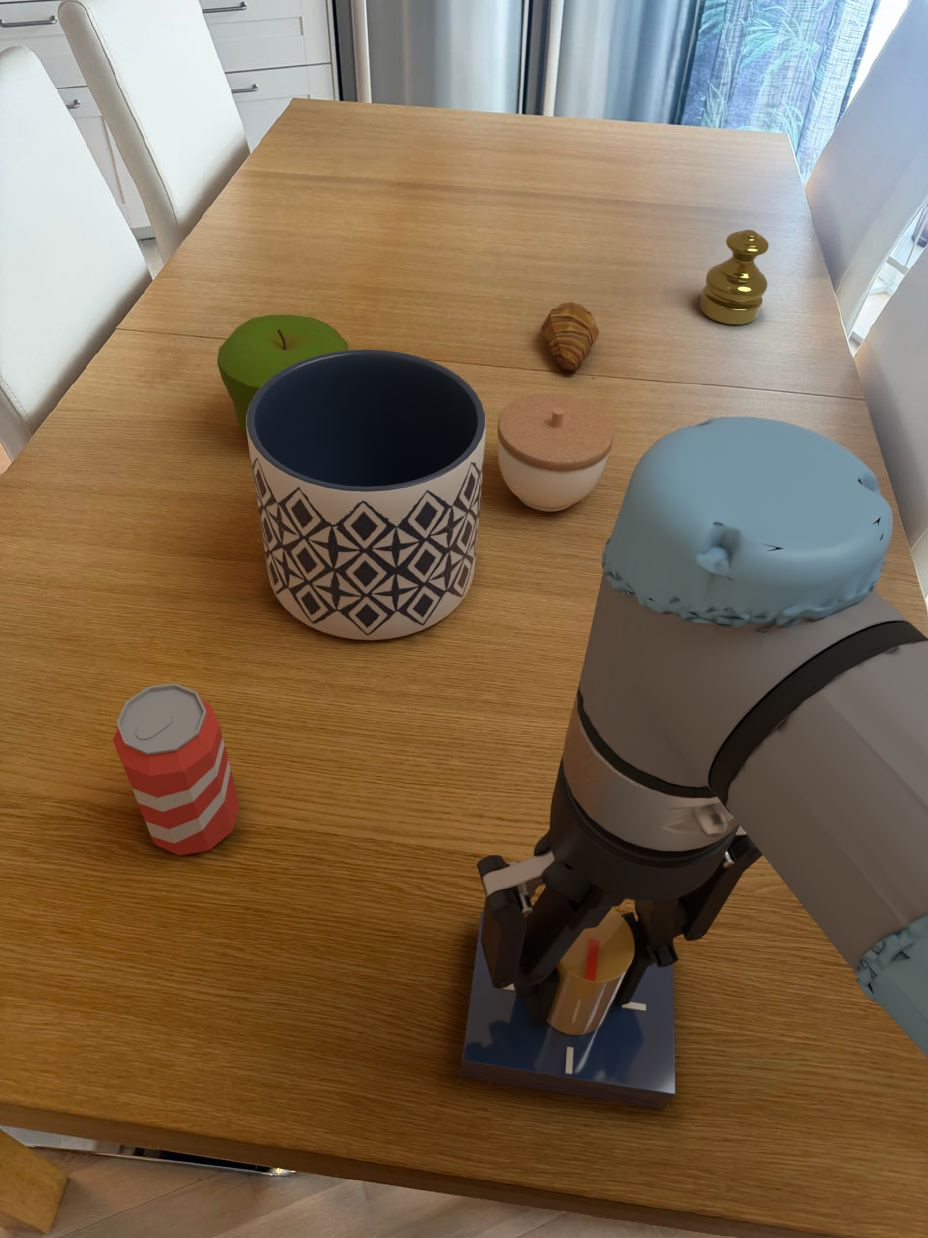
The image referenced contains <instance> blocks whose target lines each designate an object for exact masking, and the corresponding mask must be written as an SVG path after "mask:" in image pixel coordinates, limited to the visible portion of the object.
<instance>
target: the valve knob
mask: <svg viewBox="0 0 928 1238" xmlns="http://www.w3.org/2000/svg"><path fill="white" fill-rule="evenodd" d="M634 952H635V942H634V937H633V933H632V931H631V929H630V927H629V925H628V923H627V922H626V921H625V919H624V918H623V917H622V916H621V914H620V913H619V912H618V911H617V910H616V909H614V908H612V909H611V910H610V911H609V912H608V914H607V915H606V916H605V918H604V919H603V920H602V921H601V923H600V924H599V925H598V926H597V927H596V928H588V929H584V930H583V931H582V933H581V934H580V935H579V937H578V938H577V939H576V941H575V942H574V943H573V944H572V946H571V947H570V948H569V950H568V951H567V952H566V954H565V955H564V956H563V958H562V959H561V960H560V962H559V963H558V964H557V965H556V967H555V968H556V971H557V974H558V977H559V980H560V982H559V985H558V988H557V991H556V994H555V997H554V1001H553V1004H552V1007H551V1010H550V1013H549V1016H548V1019H547V1022H548V1023H549V1024H550V1025H551V1026H552V1027H554V1028H555V1029H557V1030H559V1031H561V1032H563V1033H566V1034H570V1035H583V1034H587V1033H590V1032H592V1031H594V1030H595V1029H597V1028H598V1027H599V1026H600V1025H601V1024H602V1023H603V1022H604V1020H605V1019H606V1017H607V1015H608V1012H609V1010H610V1008H611V1006H612V1004H613V1002H614V999H615V997H616V995H617V993H618V991H619V989H620V986H621V984H622V982H623V980H624V978H625V976H626V973H627V971H628V969H629V967H630V965H631V963H632V960H633V957H634Z"/></svg>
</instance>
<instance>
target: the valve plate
mask: <svg viewBox="0 0 928 1238" xmlns="http://www.w3.org/2000/svg"><path fill="white" fill-rule="evenodd" d="M483 915H484V910H481V912H480V918H479V924H478V933H477V939H476V948H475V956H474V963H473V970H472V979H471V986H470V993H469V1002H468V1009H467V1017H466V1026H465V1033H464V1040H463V1048H462V1056H461V1062H460V1063H461V1064H460V1071H459V1077H460V1078H464V1079H470V1080H476V1081H477V1080H478V1081H483V1082H490V1083H495V1084H502V1085H507V1086H514V1087H521V1088H527V1089H532V1090H539V1091H546V1092H552V1093H559V1094H563V1095H570V1096H577V1097H583V1098H590V1099H595V1100H601V1101H608V1102H613V1103H620V1104H625V1105H632V1106H633V1105H634V1106H638V1107H646V1108H652V1109H657V1110H663V1111H665V1109H666V1108H667V1107H668V1105H669V1104H670V1102H672V1100H673V1099H674V1097H675V1096H676V1054H675V1053H676V1047H675V1046H676V1045H675V1042H676V1041H675V995H674V994H675V991H674V964H672V965H669V966H666V967H658V966H657V964H656V962H655V963H654V964H653V965H652V966H649V967H647V969H646V971H645V973H644V975H643V977H642V979H641V981H640V983H639V985H638V987H637V989H636V991H635V993H634V995H633V997H632V999H631V1001H630V1003H629V1004H625V1005H621V1006H617V1005H616V1002H615V999H614V1002H613V1004H612V1006H611V1008H610V1010H609V1012H608V1015H607V1017H606V1019H605V1020H604V1022H603V1023H602V1024H601V1025H600V1026H599V1027H598V1028H597V1029H595V1030H594V1031H592V1032H590V1033H587V1034H583V1035H570V1034H566V1033H563V1032H561V1031H559V1030H557V1029H555V1028H554V1027H552V1026H551V1025H550V1024H549V1023H548V1022H546V1025H542V1026H538V1027H535V1028H533V1026H532V1023H531V1019H530V1016H529V1013H528V1009H527V1006H526V1002H525V999H524V998H522V999H519V998H518V997H517V996H516V992H515V989H514V985H513V984H511V985H509V986H508V987H506V988H502V989H497V988H494V987H493V985H492V981H491V977H490V974H489V970H488V967H487V963H486V959H485V956H484V952H483V948H482V945H481V941H480V940H481V932H482V923H483Z"/></svg>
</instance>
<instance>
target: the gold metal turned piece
mask: <svg viewBox="0 0 928 1238" xmlns="http://www.w3.org/2000/svg"><path fill="white" fill-rule="evenodd" d="M725 243H726V246H727V248H728V249H729V250H730V251H731V257H730V258H728V259H726V260H724V261H722V262H721V263H718V264H715V265H714V266H712V267H711V268H710V269H709V270H708V271H707V272H706V276H705V285H704V287H703V288H702V294H701V298H700V301H699V308H700V311H701V312H702V313H703V314H704V316H706V317H708V318H709V319H711V320H713V321H715V322H717V323H721V324H724V325H725V324H726V325H730V326H731V325H733V326H734V325H735V326H740V325H741V326H742V325H746V324H750V323H752V322H753V321H755V320H756V319H757V318H758V315H759V314H760V313H759V312H760V309H761V306H762V304H763V302H764V301H763V296H764V295H765V293H766V292H767V289H768V280H767V278H766V276H765V274H764V273H762V271H760V268H759V267H758V266H757V264H756V263H755V260H756V258H758V257H759V256H762V255H764V254H765V253H766V252H767V251H768V250H769V246H770V244H769V242H768V240H767V239H766V238H765V237H763V236H762V235H761V234H759V233H758V232H757V231H755V230H753V229H744V230H740V231H735V232H732V233H730V234H728V235H727V237H726V240H725Z"/></svg>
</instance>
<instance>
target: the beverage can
mask: <svg viewBox="0 0 928 1238" xmlns="http://www.w3.org/2000/svg"><path fill="white" fill-rule="evenodd" d="M116 725H117V728H116V731H115V734H114V736H113V737H112V738H113V739H112V743H113V744H114V748H115V750H116V752H117V755H118V757H119V760H120V762H121V765H122V767H123V770H124V772H125V775H126V777H127V779H128V782H129V785H130V787H131V789H132V792H133V795H134V797H135V800H136V802H137V805H138V807H139V810H140V812H141V815H142V817H143V819H144V822H145V824H146V827H147V829H148V832H149V834H150V837H151V839H152V842H153V844H154V845H156V846H158V847H160V848H162V849H164V850H166V851H168V852H171V853H172V854H175V855H177V856H184V855H189V854H196V853H203V852H207V851H210V850H211V849H213V848H214V847H215V846H216V845H217V844H219V843H221V841H223V840H224V839H225V838H226V837H228V836H229V835H230V834H231V833H232V832H233V830H234V827H235V825H236V820H237V817H238V814H239V810H240V808H241V805H240V802H239V797H238V793H237V789H236V785H235V780H234V776H233V773H232V769H231V766H230V765H231V764H230V760H229V756H228V752H227V749H226V744H225V741H224V737H223V733H222V728H221V725H220V722H219V720H218V719H217V716H216V715H215V712H214V711H213V708H212V707H211V705H210V702H208V701H207V700H204V699H202V698H201V697H200V695H199V693H198V691H195V690H193V689H191V688H188V687H186V686H183V685H181V684H179V683H177V682H173V683H167V684H158V685H150V686H147V687H145V688H144V689H142V690H141V691H140V692H138V693H137V694H135V695H134V696H132V697H131V698H129V699H127V700H126V701H125V703H124V705H123V707H122V709H121V712H120V714H119V716H118V719H117V721H116Z"/></svg>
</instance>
